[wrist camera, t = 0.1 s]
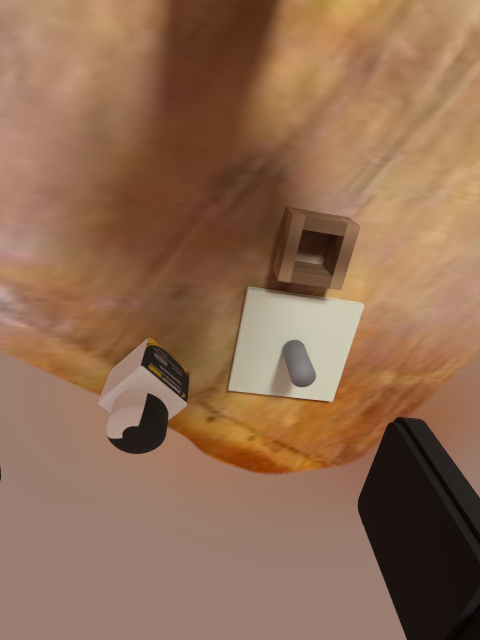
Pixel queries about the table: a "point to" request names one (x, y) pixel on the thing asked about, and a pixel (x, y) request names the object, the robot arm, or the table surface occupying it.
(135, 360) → the medicine bottle
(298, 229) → the walnut ring
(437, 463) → the robot arm
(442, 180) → the table surface
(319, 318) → the post stand
